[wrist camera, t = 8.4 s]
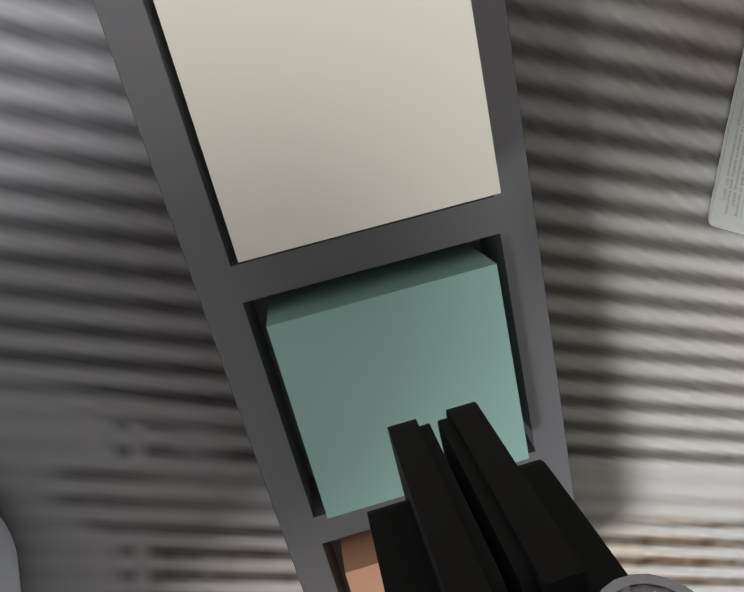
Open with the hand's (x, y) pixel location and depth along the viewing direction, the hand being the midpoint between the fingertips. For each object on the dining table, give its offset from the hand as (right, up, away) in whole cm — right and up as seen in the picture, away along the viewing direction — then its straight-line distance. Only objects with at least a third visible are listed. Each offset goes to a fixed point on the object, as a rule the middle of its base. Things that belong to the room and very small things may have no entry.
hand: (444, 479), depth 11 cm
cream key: (-2, +8, +3) cm, 9 cm away
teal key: (-1, +1, +7) cm, 7 cm away
